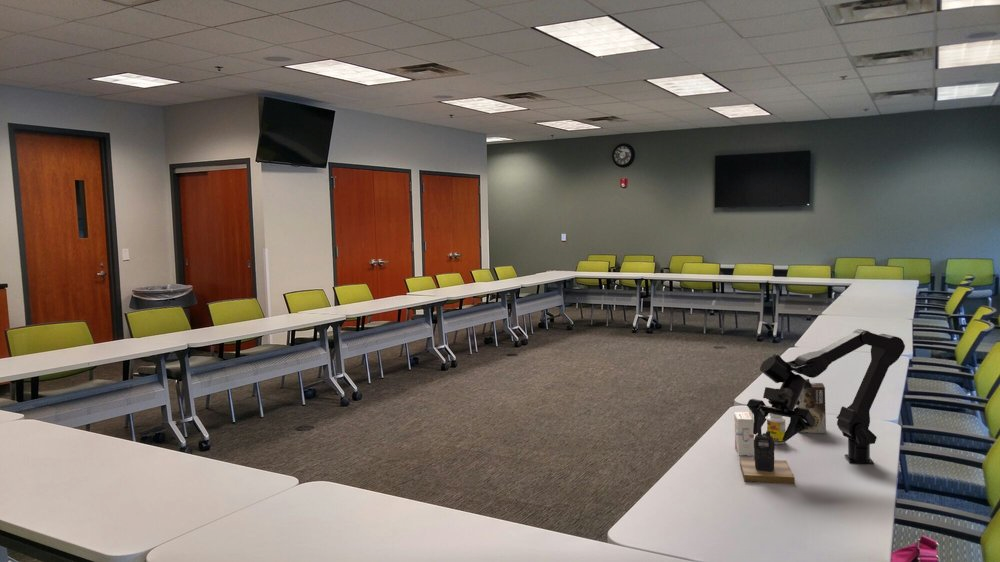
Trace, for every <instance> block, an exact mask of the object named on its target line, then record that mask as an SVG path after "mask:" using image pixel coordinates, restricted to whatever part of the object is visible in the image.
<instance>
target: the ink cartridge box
mask: <svg viewBox="0 0 1000 562" xmlns="http://www.w3.org/2000/svg"><path fill="white" fill-rule="evenodd" d="M733 414H734V415H733V416H734V447H736V448H735V449H737V450H736V451H737V455H738V454H739V455H740V456H741V455H747V456H746V457H748V456H749V457H750V456H753V457H754V439H755V434H754V433H753V428H754V414H753V413H752V412H751V410H750V409H749V408H748V411H734V413H733ZM739 455H738V456H739Z"/></svg>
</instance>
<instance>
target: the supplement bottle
mask: <svg viewBox="0 0 1000 562" xmlns="http://www.w3.org/2000/svg"><path fill="white" fill-rule="evenodd" d="M766 429H767V430H766V431H770V435H771V436H772V437H773V440H774V444H775V445H783V444H785V443H786V442H784V441H783V436H784V434H785V432H786V418H785V416H780V415H775V414H771V413H769V414H768V416H767V417H766Z"/></svg>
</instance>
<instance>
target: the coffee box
mask: <svg viewBox="0 0 1000 562" xmlns="http://www.w3.org/2000/svg"><path fill="white" fill-rule="evenodd" d="M810 383H811V385H812V388H808V389H803V391H802V393H801V395H800V397H799V399H798V400H799V401H800V404H799V405H796V406H795V408H796V407H799V408H804V409H809V411H810V412H811V414H812V415H813V417H814V418H815V425H814V427H813V428H810V427H808V429H804V430H802V431H800V432H799V433H805V432H806V434H807V432H808V434H813V433H814V434H826V433H827V425H826V424H827V421H826V420H827V419H826V417H827V416H826V387H825V384H824V383H822V382H810Z"/></svg>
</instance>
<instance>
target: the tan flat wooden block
mask: <svg viewBox="0 0 1000 562" xmlns="http://www.w3.org/2000/svg"><path fill="white" fill-rule="evenodd" d="M739 467H741V468H740V471H741V474H742V478H743V481H744V483H756V484H757V483H758V484H775V485H777V484H778V485H795V484H796V483H795V482H796V480H795V475H794V473H793V471H792V469H791V467H790V465H789V463H788V461H787V460H783V459H781V460H780V459H774V470H773V471H765V470H757V469H756V468H755V458H739Z"/></svg>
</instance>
